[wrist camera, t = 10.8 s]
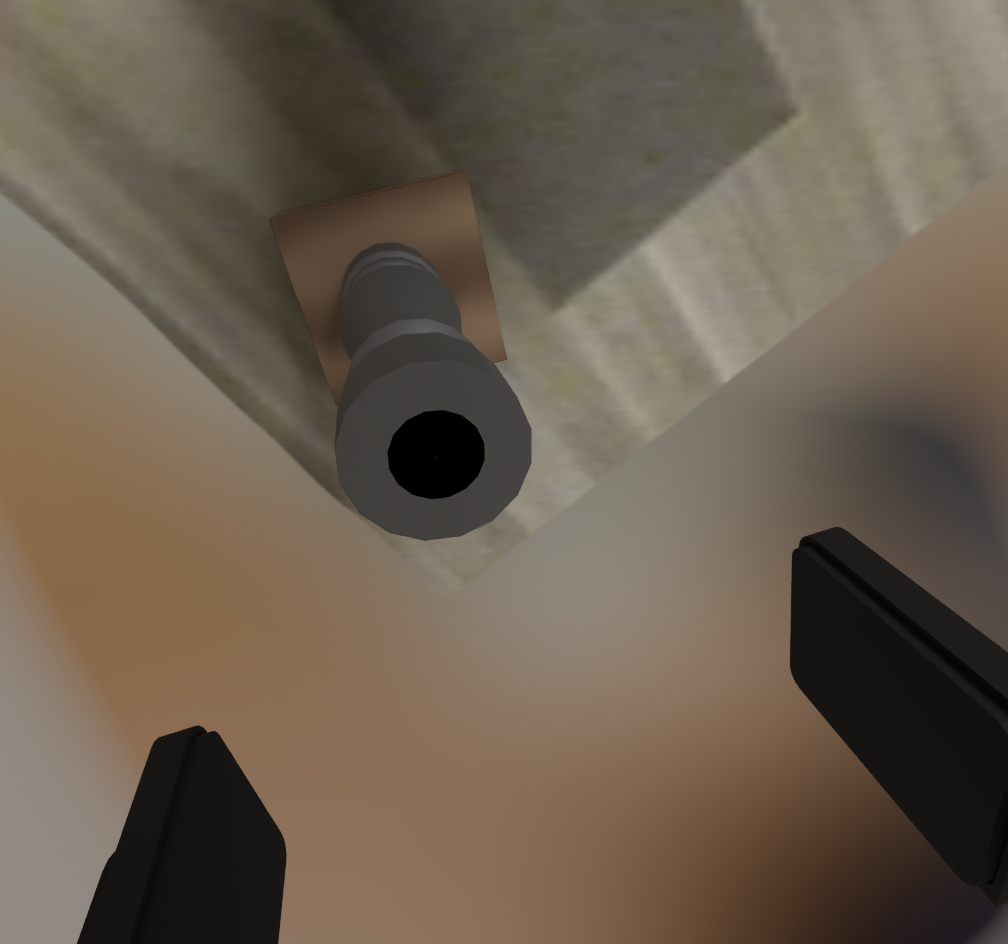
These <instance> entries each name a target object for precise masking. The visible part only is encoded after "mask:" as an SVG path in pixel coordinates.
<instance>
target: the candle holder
mask: <svg viewBox="0 0 1008 944" xmlns="http://www.w3.org/2000/svg"><path fill="white" fill-rule="evenodd" d="M341 302H342V311H341V314H340V318H339V326H340V333H341V341H342V346H343V348H344V350H345V351H346V353H347V355H348V357H349V358H350V360H351V365H350V368H349V371H348V375H347V378H346V382H345V385H344V388H343V392H342V395H341V399H340V402H339V405H338V409H337V423H336V437H335V453H336V460H337V467H338V473H339V480H340V484H341V486H342V487H343V489H344V490H345V492H346V494H347V495H348V497H349V498H350V500H351V501H352V503H353V504H354V506H355V507H356V509H357V510H358V512H359V513H360V514H361V515H363V516H364V517H366V518H367V519H369V520H371V521H372V522H374V523H375V524H377V525H378V526H380V527H381V528H383V529H384V530H386V531H387V532H389V533H392V534H397V535H401V536H406V537H410V538H415V539H420V540H424V541H425V540H433V539H441V538H449V537H457V536H462V535H464V534H466V533H468V532H470V531H472V530H474V529H476V528H478V527H480V526H482V525H484V524H486V523H488V522H490V521H492V520H494V519H495V518H496V517H497V516H498V515H499V514H500V513H501V512H502V511H503V509H504V508H505V507H506V506H507V505H508V504H509V503H510V502H511V501H512V500H513V499H514V498H515V497H516V496H517V495H518V493H519V491H520V488H521V486H522V484H523V481H524V479H525V477H526V474H527V472H528V470H529V467H530V465H531V427H530V425H529V423H528V420H527V418H526V416H525V414H524V411H523V409H522V407H521V405H520V402H519V400H518V398H517V396H516V395H515V393H514V392H513V390H512V389H511V387H510V386H509V384H508V383H507V381H506V380H505V379H504V377H503V376H502V374H501V373H500V371H499V370H498V368H497V367H496V365H495V364H494V363H492V362H491V361H490V360H489V359H488V358H487V357H486V356H485V355H483V354H482V353H481V352H480V351H479V350H478V349H477V348H476V347H475V346H474V344H473V343H472V342H470V341H469V340H468V339H467V338H466V337H465V336H464V335H463V334H462V324H461V313H460V311H459V308H458V306H457V304H456V302H455V300H454V298H453V296H452V293H451V291H450V290H449V289H448V288H447V287H446V286H445V285H444V284H442V282H441V280H440V277H439V275H438V273H437V271H436V270H435V268H434V267H433V266H432V264H431V263H430V262H429V261H428V260H427V259H426V258H425V257H424V256H422V255H421V254H420V253H419V252H418V251H417V250H416V249H413V248H411V247H408V246H405V245H403V244H400V243H377V244H375V245H373V246H371V247H369V248H367V249H365V250H363V251H361V252H359V253H358V255H357V256H356V257H355V258H354V260H353V261H352V262H351V263H350V264H349V266H348V267H347V270H346V273H345V277H344V280H343V284H342V289H341Z"/></svg>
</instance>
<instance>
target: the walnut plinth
mask: <svg viewBox="0 0 1008 944" xmlns="http://www.w3.org/2000/svg"><path fill="white" fill-rule="evenodd" d="M269 222H270V225H271V227H272V230H273V233H274V236H275V238H276V241H277V244H278V247H279V249H280V252H281V255H282V258H283V260H284V263H285V266H286V269H287V271H288V274H289V277H290V280H291V282H292V285H293V288H294V291H295V293H296V296H297V299H298V302H299V304H300V307H301V310H302V313H303V315H304V318H305V321H306V324H307V326H308V329H309V332H310V335H311V337H312V340H313V343H314V346H315V348H316V351H317V354H318V357H319V359H320V362H321V365H322V368H323V370H324V373H325V376H326V379H327V381H328V384H329V387H330V390H331V392H332V395H333V398H334V401H335V403H336V406H338V405H339V402H340V399H341V395H342V392H343V388H344V385H345V382H346V378H347V375H348V371H349V368H350V365H351V360H350V358H349V357H348V355H347V353H346V351H345V350H344V348H343V346H342V341H341V333H340V326H339V318H340V314H341V311H342V302H341V289H342V284H343V280H344V277H345V273H346V270H347V267H348V266H349V264H350V263H351V262H352V261H353V260H354V258H355V257H356V256H357V255H358V253H359V252H361V251H363V250H365V249H367V248H369V247H371V246H373V245H375V244H377V243H400V244H403V245H405V246H408V247H411V248H413V249H416V250H417V251H418V252H419V253H420V254H421V255H422V256H424V257H425V258H426V259H427V260H428V261H429V262H430V263H431V264H432V266H433V267H434V268H435V270H436V271H437V273H438V275H439V277H440V280H441V282H442V284H444V285H445V286H446V287H447V288H448V289H449V290H450V291H451V293H452V296H453V298H454V300H455V302H456V304H457V306H458V308H459V311H460V313H461V324H462V334H463V335H464V336H465V337H466V338H467V339H468V340H469V341H470V342H472V343H473V344H474V346H475V347H476V348H477V349H478V350H479V351H480V352H481V353H482V354H483V355H485V356H486V357H487V358H488V359H489V360H490V361H491V362H492V363H496V362H500V361H504V360H507V357H506V353H505V348H504V343H503V339H502V334H501V329H500V325H499V320H498V315H497V311H496V306H495V301H494V297H493V292H492V287H491V283H490V278H489V273H488V269H487V264H486V259H485V255H484V250H483V245H482V241H481V236H480V231H479V227H478V222H477V217H476V213H475V208H474V203H473V199H472V194H471V189H470V185H469V180H468V175H467V171H459V170H456V171H452V172H448V173H444V174H440V175H436V176H432V177H428V178H423V179H419V180H415V181H411V182H407V183H403V184H399V185H395V186H391V187H386V188H382V189H378V190H374V191H370V192H366V193H362V194H358V195H354V196H349V197H345V198H341V199H337V200H333V201H329V202H325V203H321V204H317V205H312V206H308V207H304V208H300V209H296V210H292V211H288V212H284V213H280V214H276V215H274V216H273V217H272V218H270V219H269Z"/></svg>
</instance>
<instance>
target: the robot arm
mask: <svg viewBox="0 0 1008 944" xmlns="http://www.w3.org/2000/svg"><path fill="white" fill-rule="evenodd" d="M790 644H791V645H790V669H791V673H792V675H793V678H794V680H795V682H796V683H797V685H798V687H799V688H800V690H801V691H802V692H803V693H804V694H805V695H806V697H807V698H808V699H809V700H810V701H811V703H812V704H813V705H814V706H815V707H816V709H817V710H818V711H819V712H820V713H821V715H822V716H823V717H824V718H825V719H826V721H827V722H828V723H829V724H830V725H831V726H832V728H833V729H834V730H835V731H836V732H837V733H838V735H839V736H840V737H841V738H842V740H843V741H844V742H845V743H846V744H847V745H848V747H849V748H850V749H851V750H852V751H853V753H854V754H855V755H856V756H857V757H858V759H859V760H860V761H861V762H862V763H863V764H864V766H865V767H866V768H867V769H868V770H869V772H870V773H871V774H872V775H873V776H874V778H875V779H876V780H877V781H878V782H879V783H880V785H881V786H882V787H883V788H884V790H885V791H886V792H887V793H888V794H889V795H890V797H891V798H892V799H893V800H894V801H895V803H896V804H897V805H898V806H899V807H900V809H901V810H902V811H903V812H904V813H905V814H906V816H907V817H908V818H909V819H910V820H911V822H913V824H914V825H915V826H916V828H917V829H918V830H919V831H920V832H921V833H922V834H923V836H924V837H925V838H926V839H927V841H928V842H929V843H930V844H931V845H932V847H933V848H934V849H935V850H936V851H937V853H938V854H939V855H940V856H941V857H942V858H943V860H944V861H945V862H946V863H947V864H948V866H949V867H950V868H951V869H952V870H953V872H954V873H955V874H956V875H957V876H958V877H959V878H960V879H961V880H963V881H964V882H965V883H966V884H968V885H970V886H977V885H978V886H979V887H980V889H981V890H982V891H983V892H984V893H985V894H986V896H987V897H988V898H989V899H990V900H991V901H992V903H993V904H994V905H995V906H996V907H997V906H1000V905H1002V904H1005V903H1007V902H1008V652H1006V651H1005V650H1004V649H1002V648H1001V647H1000V646H999V645H997V644H996V643H995V642H993V641H992V640H991V639H989V638H988V637H987V636H985V635H984V634H983V633H981V632H980V631H979V630H977V629H976V628H975V627H973V626H972V625H971V624H969V623H968V622H967V621H965V620H964V619H963V618H961V617H960V616H959V615H957V614H956V613H955V612H953V611H952V610H951V609H949V608H948V607H947V606H945V605H944V604H943V603H942V602H940V601H939V600H937V599H936V598H935V597H934V596H932V595H931V594H930V593H928V592H927V591H926V590H924V589H923V588H921V587H920V586H919V585H918V584H916V583H915V582H914V581H912V580H911V579H910V578H908V577H907V576H906V575H904V574H903V573H902V572H900V571H899V570H898V569H897V568H895V567H894V566H893V565H891V564H890V563H889V562H887V561H886V560H885V559H883V558H882V557H881V556H879V555H878V554H877V553H875V552H874V551H873V550H871V549H870V548H869V547H867V546H866V545H865V544H863V543H862V542H861V541H859V540H858V539H857V538H856V537H854V536H853V535H852V534H850V533H849V532H848V531H846V530H844V529H843V528H840V527H834V528H831V529H828V530H825V531H821V532H818V533H814V534H812V535H808V536H805V537H803V538H802V539H801V541H800V543H799V548H797V549H795V550H794V551H793V553H792V583H791V638H790ZM285 868H286V847H285V842H284V838H283V836H282V834H281V832H280V830H279V829H278V827H277V825H276V824H275V822H274V821H273V819H272V817H271V816H270V814H269V813H268V811H267V810H266V808H265V806H264V805H263V803H262V802H261V800H260V798H259V797H258V795H257V794H256V792H255V790H254V789H253V787H252V786H251V784H250V783H249V781H248V779H247V778H246V776H245V775H244V773H243V772H242V770H241V768H240V767H239V765H238V763H237V762H236V761H235V759H234V757H233V755H232V754H231V752H230V751H229V749H228V748H227V746H226V744H225V743H224V741H223V740H222V738H221V737H220V735H219V734H218V733H217V732H215V731H211V732H208V733H207V731H206V730H205V729H204V728H203V727H201V726H194V727H191V728H187V729H184V730H181V731H178V732H175V733H171V734H168V735H165V736H162V737H159V738H158V739H156V740H155V742H154V744H153V745H152V747H151V750H150V754H149V756H148V759H147V762H146V765H145V767H144V770H143V773H142V776H141V779H140V782H139V785H138V788H137V791H136V793H135V796H134V800H133V802H132V805H131V808H130V811H129V814H128V817H127V819H126V822H125V825H124V828H123V831H122V834H121V837H120V840H119V843H118V845H117V848H116V851H115V852H114V853H113V854H112V856H111V857H110V858H109V859H108V861H107V863H106V865H105V867H104V870H103V872H102V874H101V877H100V880H99V883H98V885H97V888H96V891H95V894H94V897H93V900H92V902H91V905H90V908H89V911H88V914H87V917H86V919H85V922H84V925H83V928H82V931H81V933H80V936H79V939H78V942H77V944H278V940H279V930H280V920H281V909H282V898H283V889H284V879H285Z"/></svg>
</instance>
